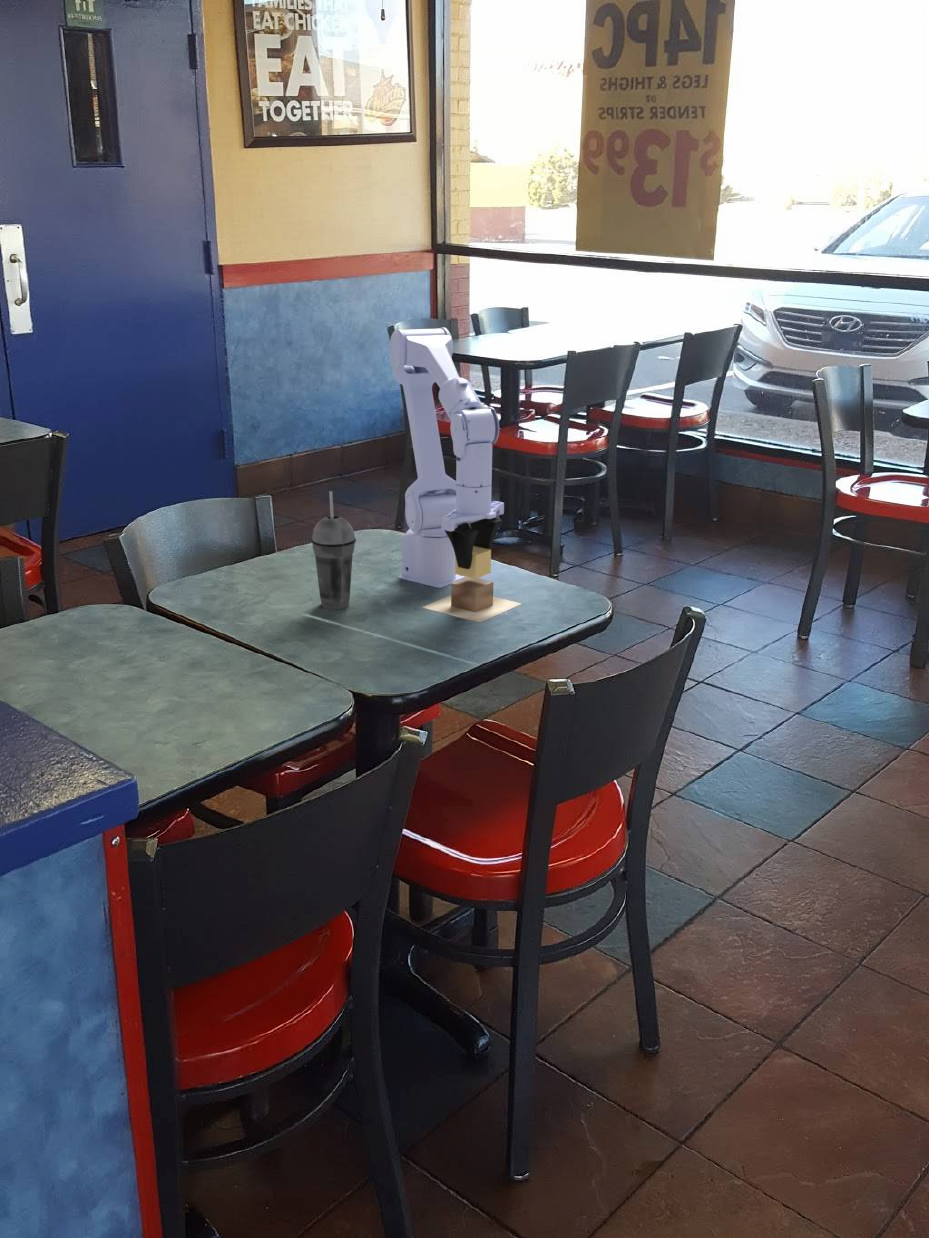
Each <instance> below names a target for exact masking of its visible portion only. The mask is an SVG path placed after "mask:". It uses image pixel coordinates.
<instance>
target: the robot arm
mask: <svg viewBox="0 0 929 1238" xmlns="http://www.w3.org/2000/svg"><path fill="white" fill-rule="evenodd" d="M388 352H389V356H390V357H389V358H390V364H391V369H392V374H393V379H394V381H395V382H397V383H398V384H400V385H402V387H403V394H404V399H405V406H406V412H407V417H408V423H409V429H410V430H409V431H410V437H411V443H412V449H413V455H414V461H415V467H416V475H417V479H416V480H415V481H413V483H412V484H411V485H410V486H409V487H407V489H406V490H405V493H404V499H405V500H404V501H405V508H404V515H405V521H406V523H407V527H408V528H409V529H408V530H407V531H406V532H405V533H404V535H403V537H402V541H401V542H402V543H401V574H400V575H399V576H398V578H399V579H402V580H406V581H410V582H414V583H418V584H422V585H426V586H431V587H434V588H441V589H442V588H444V587H447V586H449V585H451V583H453V582H456V581H458V580H461V579H464V578H466V576H461V575H457V574H455V556H456V560H457V564H458V567H460V568H464V569H469V568H470V567H471V563H472V552H473V546H476V547H481V548H485V549H490V550H491V551H492V546H493V543H494V540H495V538H496V535H497V533H498V531H499V530H500V528H501V526H502V523H503V521H502V519H501V518H498V517H497V515H499V516H501V515H504V513H505V502H502V501H496V500H493V501H492V484H493V483H492V478H493V477H492V475H493V474H492V472H493V445H494V444H495V443H497V441H498V439H499V436H500V435H499V434H500V420H499V416H498V414H497V412H496V409H495V408H494V407H492V406H488V405H487V404H482V401H481V399H480V398H479V396H478V394H477V392H476V391H475V389H474V388H473V386H472V385H471V382H470V381H469V380H467V379H466V378H463V377H460V375H459V373H458V371H457V368H456V366H455V363H454V361H453V359H452V358H453V357H452V356H453V352H454V343H453V337H452V334H451V332H450V331H449V330H448V328H446V327H444V326H443V327H439V328H417V329H416V328H415V329H401V328H396V329H394V331H393V332H392V334H391V336H390V342H389V348H388ZM434 383H436V384H437V386H438V387H439V391H438V400H439V403H440V404H441V406H442V408H443V410H444V411H445V413H446V415H447V417H448V419H449V420H450V426H449V428H450V434H451V435H450V436H451V440H452V446H453V447H452V448H453V449H452V451H453V455H454V456H456V464H455V465H456V468H455V469H456V471H455V473H456V475H455V478H456V479H455V480H454V479H453V478H452V477H451V476H449V475H447V474H446V470H445V469H446V468H445V463H444V456H443V451H442V444H441V438H440V431H439V427H438V426H439V424H438V419H437V411H436V407H435V400H434V394H433V385H434Z"/></svg>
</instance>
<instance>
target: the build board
mask: <svg viewBox="0 0 929 1238" xmlns="http://www.w3.org/2000/svg"><path fill="white" fill-rule="evenodd" d="M520 605H522V603H520V602H517V601H513V600H508V599H504V598H501V597H497V596H493V605H491V606H489V607H487V608H484V609H482V610H480V611H477V612H472V611H468V610H464V609H460V608H456V607H452V606H451V594H450V595H448V596H446V597H443V598H441V599H438V600H436V601H434V602H431V603H428V604H426V605H424V606H422V607H421V608H423V609H427V610H430V611H432V612H433V611H434V612H438V613H441V614H445V615H448V616H452V617H455V618H456V617H457V618H459V619H464V620H467V621H472V622H476V623H479V624H480V623H483V622H486V621H487V620H490V619H491V618H492V619H493V618H494V617H496V616H499V615H500V614H503V613H505V612H508V611H509V610H512V609H514V608H517V607H519V606H520Z"/></svg>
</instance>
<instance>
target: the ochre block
mask: <svg viewBox="0 0 929 1238" xmlns="http://www.w3.org/2000/svg"><path fill="white" fill-rule="evenodd" d="M491 566H492V549H491V550H490V549H485V548H481V547H476V546H473V552H472V563H471V567H470V568H469V569H464V568H460V567H458V564H457V560H456V556H455V574H457V575H461V576H466V577H470V578H474V579H477V578H479V579H480V578H481V577H484V576H486V575H489V574H491V573H492V572H491V570H492V567H491Z"/></svg>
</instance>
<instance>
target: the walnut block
mask: <svg viewBox="0 0 929 1238" xmlns="http://www.w3.org/2000/svg"><path fill="white" fill-rule="evenodd" d="M450 586H451V587H450V588H451V590H450V591H451V592H450V595H451V606H452V607H456V608H460V609H464V610H468V611H472V612H477V611H480V610H482V609H484V608H487V607H489V606H491V605H493V597H494V581H491V580H486V579H482V578H480V577H479V578H477V579H474V578H470V577H466V578H464V579H461V580H458V581H456V582H453V583H451V584H450Z"/></svg>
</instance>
